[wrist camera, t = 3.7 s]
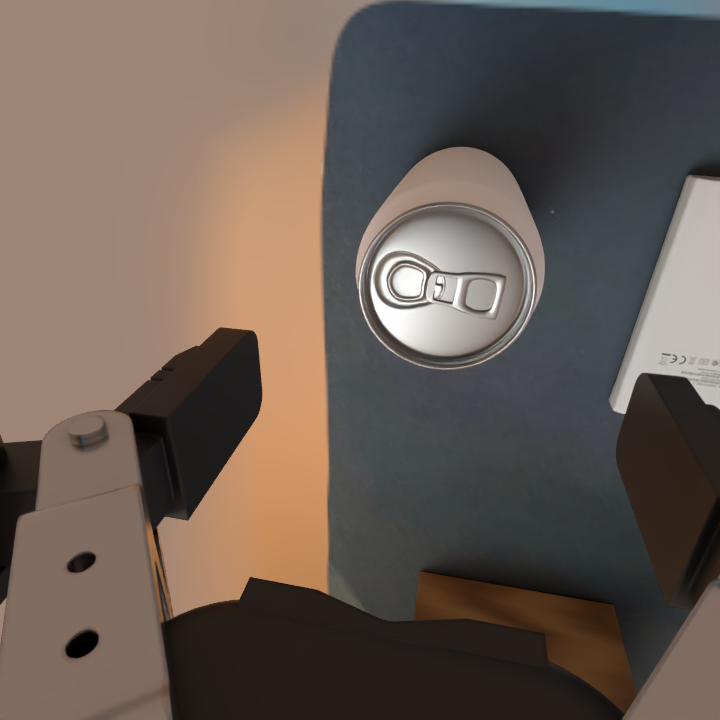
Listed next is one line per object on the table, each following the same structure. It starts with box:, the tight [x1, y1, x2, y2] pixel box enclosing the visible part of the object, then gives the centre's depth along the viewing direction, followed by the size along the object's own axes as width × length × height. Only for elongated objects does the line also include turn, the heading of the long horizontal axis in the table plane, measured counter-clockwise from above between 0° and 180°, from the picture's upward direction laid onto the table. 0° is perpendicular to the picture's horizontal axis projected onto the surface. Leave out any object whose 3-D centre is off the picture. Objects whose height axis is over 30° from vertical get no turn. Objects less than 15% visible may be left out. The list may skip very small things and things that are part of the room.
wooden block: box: [414, 571, 637, 714], centre depth 38 cm, size 14×12×8 cm
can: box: [356, 147, 545, 370], centre depth 22 cm, size 6×6×12 cm
